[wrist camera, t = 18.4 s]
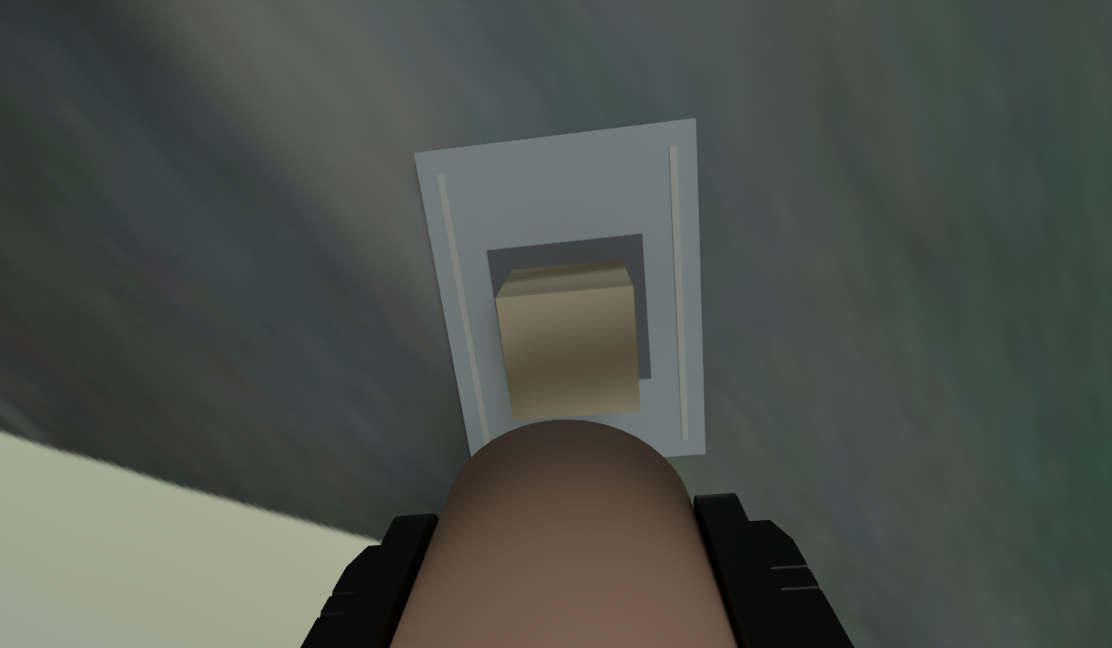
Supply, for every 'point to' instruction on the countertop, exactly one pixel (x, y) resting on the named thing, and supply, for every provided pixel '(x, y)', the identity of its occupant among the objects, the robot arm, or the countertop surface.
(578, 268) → the birch cube
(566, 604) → the terracotta cylinder
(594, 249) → the base
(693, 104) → the countertop surface
